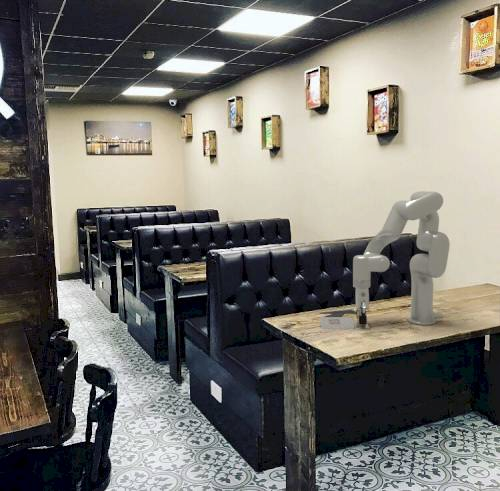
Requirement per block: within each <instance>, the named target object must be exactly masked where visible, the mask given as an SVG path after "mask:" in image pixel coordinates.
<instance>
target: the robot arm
mask: <svg viewBox="0 0 500 491" xmlns="http://www.w3.org/2000/svg"><path fill="white" fill-rule="evenodd" d="M443 204H444V197H443V196H442V194H441V193H439V192H437V191H425V190H423V191H422V190H421V191H416V192H413V193H412V194H411V196H410V198H409V200H398V201H396V202H395V203H394V204H393V205H392V207H391V209H390V211H389V214H388V216H387V218H386V219H385V222H384V224H383V227H382V228H381V230H380V231H379V232H378V233H377V234H375V235H374V237H373V238H371V240H370V241H369V243H368V244H367V246H366V249H365V250H364V252H363V254H359V255H358V254H357V255H354V256H353V259H352V287H353V288H355V307H356V309H355V310H356V314H355V315H356V316H355V317H356V319H357V309H358V310H359V311H360V315H359V324H360V325H366V324H368V321H367V320H368V316H367V311H369V310H370V293H369V292H370V291H369V288H371V278H372V276H371V273H372V272H375V273H376V272H377V273H383V272H386V271H387V270H388V269H389V268H390V265H391V260H389V258H388V257H387V256H385V255H383V254H381V253H382V251H383V250H384V248H385V247H386V246H388V245H389V244H391V243H393V242H395V241H397V240H399V239H400V237H401V236H402V235H403V234H402V233H403V231H404V229H405V227H406V225H407V223H408V221H416V220H419V222H418V229H417V236H416V243H415V244H416V247H417V248H418V249H419V250H420V251H425V252H428V253H427V254H426V253H417V254H414V255H413V256H412V257H411V259H410V261H409V270H410V277H411V278H410V279H411V286H410V288H411V293H410V294H411V296H410V297H411V298H410V316H408V317H407V318H406V320H407V322H408V323H410V324H413V325H418V326H421V325H422V326H430V325H435V324H436V322H437V319H444V317H445V316H444V314H443V313H442V314H441V313H435V312H433V311H434V310H433V308H434V280H433V278H435V279H437V278H440V277H442V276H443V275H444V274H445V272H446V270H447V264H448V259H449V254H450V243H451V242H450V240H449V237H448V235H447V234H446V233H444V232H441V231H439V226H440V217H439V213H438V211H439V210H441V208H442V206H443Z"/></svg>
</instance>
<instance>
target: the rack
mask: <svg viewBox="0 0 500 491" xmlns="http://www.w3.org/2000/svg"><path fill="white" fill-rule="evenodd" d="M319 324H320V329H321V330H354V327H355V329H369V328H370V326H369V324H368V323H367V324H366V326H358V325H357V322H353V318H352V317H349V316H348V317H347V316H346V317H344V316H341V317H324V316H320V317H319Z"/></svg>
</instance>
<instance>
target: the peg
mask: <svg viewBox="0 0 500 491" xmlns="http://www.w3.org/2000/svg"><path fill="white" fill-rule="evenodd" d="M356 310H357V318H356V321H357V322H356V323H357V325H358V326H366V325H360V324H359V315H360V311H359V310H358V309H357V308H356Z"/></svg>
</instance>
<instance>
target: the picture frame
mask: <svg viewBox="0 0 500 491" xmlns="http://www.w3.org/2000/svg"><path fill="white" fill-rule="evenodd" d="M356 310H357V309H354V308H347V309H346V308H345V309H336V310H326V311H325V310H324V311H316V312H314V314H315V315H324V316H323V317H343V316H344V315H356Z"/></svg>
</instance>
